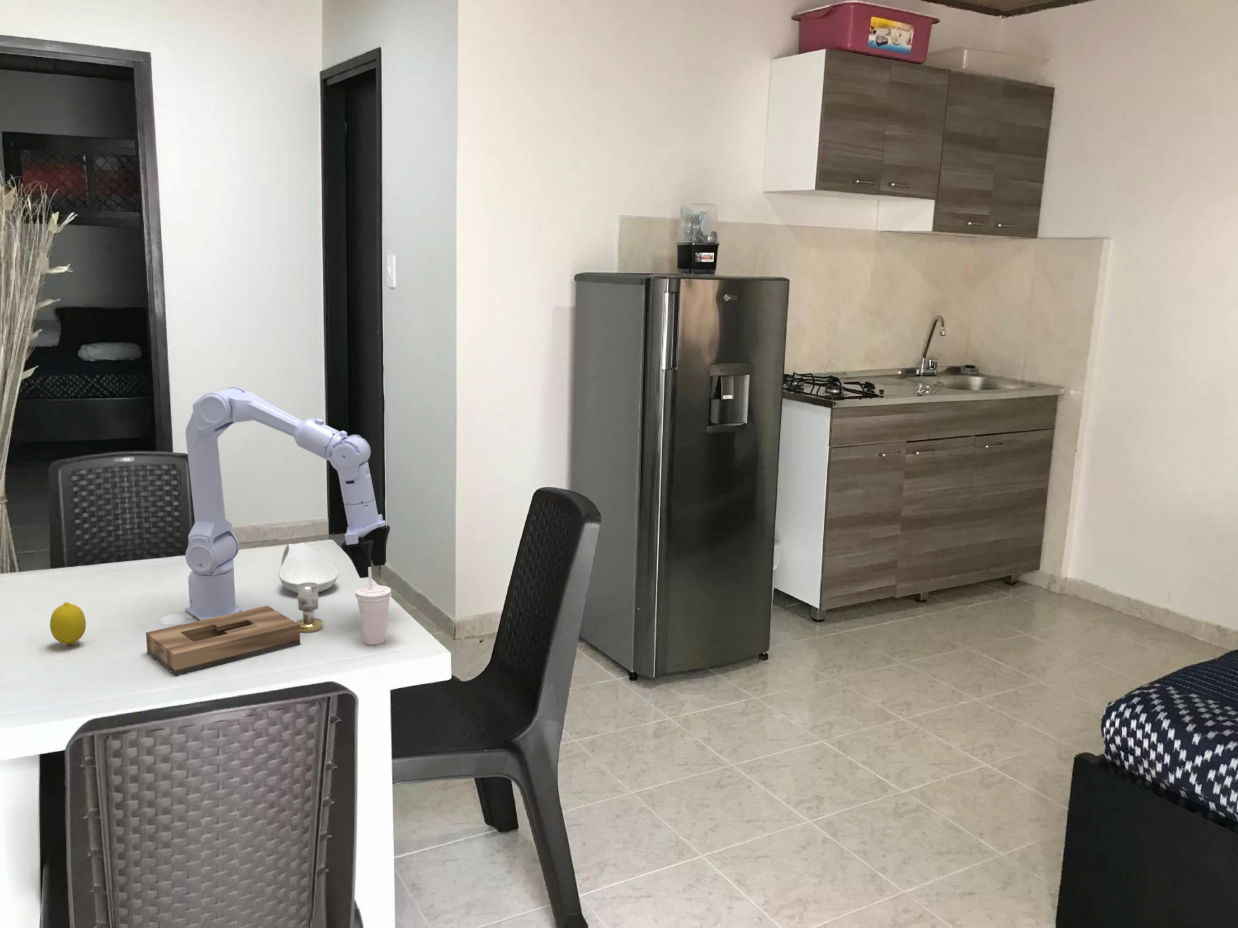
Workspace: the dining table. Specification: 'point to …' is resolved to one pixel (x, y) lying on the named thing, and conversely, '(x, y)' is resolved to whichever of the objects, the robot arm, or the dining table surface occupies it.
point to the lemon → (67, 623)
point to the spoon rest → (305, 568)
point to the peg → (308, 607)
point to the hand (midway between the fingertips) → (372, 570)
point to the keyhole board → (222, 639)
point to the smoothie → (373, 610)
